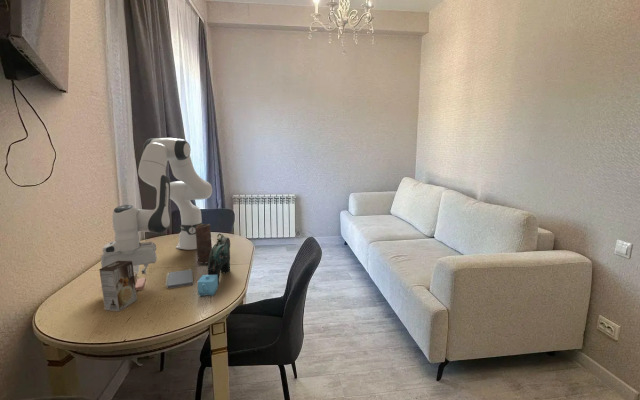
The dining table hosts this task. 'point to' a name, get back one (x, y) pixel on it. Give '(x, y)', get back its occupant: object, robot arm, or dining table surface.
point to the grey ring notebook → (179, 279)
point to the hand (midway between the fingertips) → (131, 275)
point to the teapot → (207, 285)
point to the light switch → (139, 282)
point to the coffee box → (118, 285)
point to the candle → (203, 242)
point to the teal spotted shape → (219, 257)
